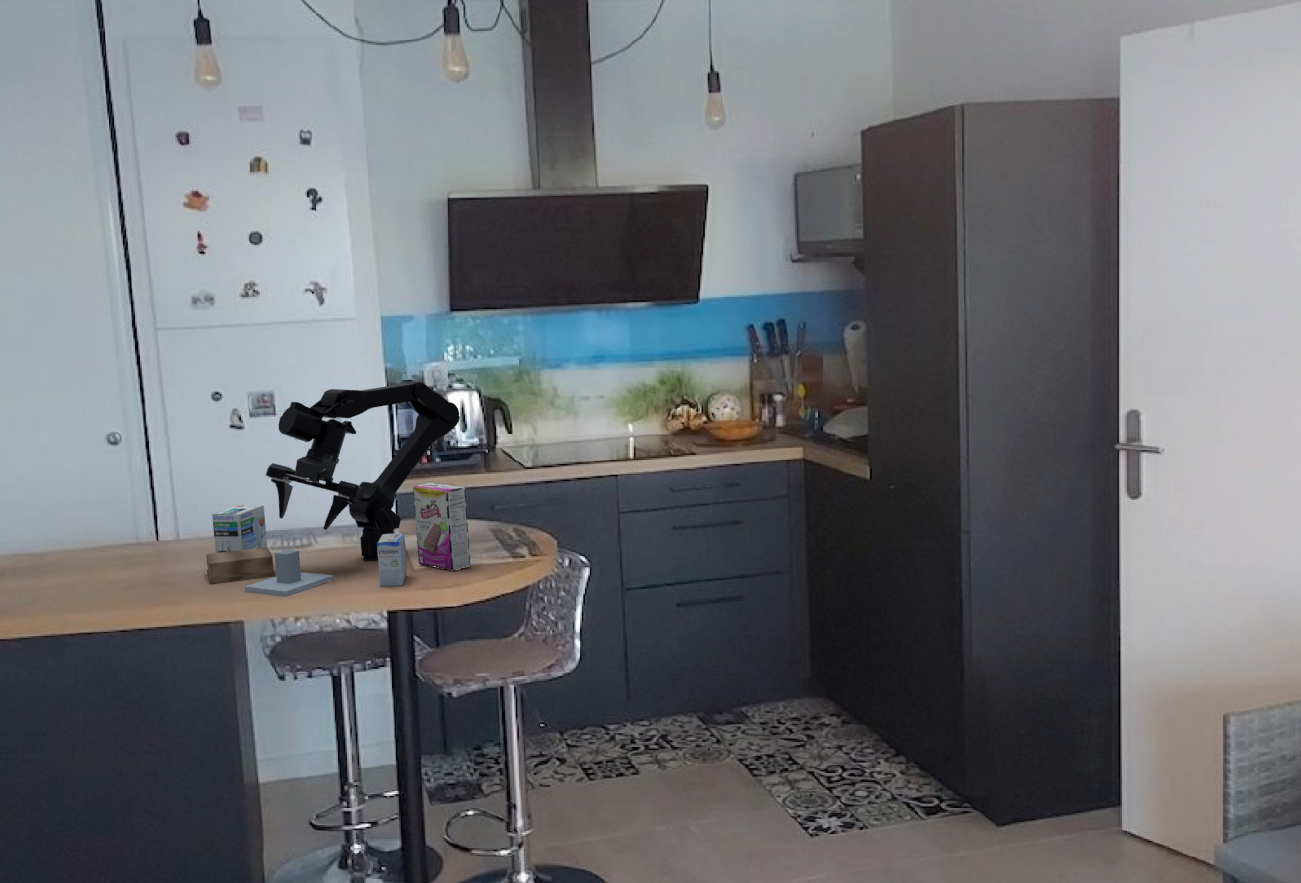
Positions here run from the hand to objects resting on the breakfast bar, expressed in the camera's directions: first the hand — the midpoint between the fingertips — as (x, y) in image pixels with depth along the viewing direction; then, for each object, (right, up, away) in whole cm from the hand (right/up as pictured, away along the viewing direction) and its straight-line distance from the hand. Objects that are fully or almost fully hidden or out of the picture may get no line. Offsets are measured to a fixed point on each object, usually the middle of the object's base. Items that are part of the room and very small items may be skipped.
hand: (302, 523), depth 256 cm
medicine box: (+20, -11, -9) cm, 24 cm away
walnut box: (-13, -10, +3) cm, 17 cm away
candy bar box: (+28, -9, +2) cm, 29 cm away
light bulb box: (-18, -9, +19) cm, 28 cm away
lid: (0, -12, -8) cm, 15 cm away
